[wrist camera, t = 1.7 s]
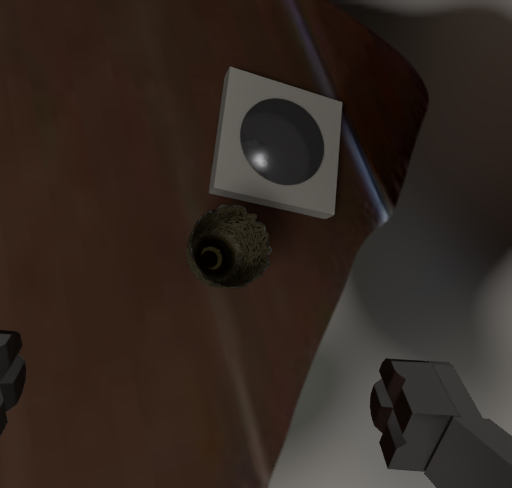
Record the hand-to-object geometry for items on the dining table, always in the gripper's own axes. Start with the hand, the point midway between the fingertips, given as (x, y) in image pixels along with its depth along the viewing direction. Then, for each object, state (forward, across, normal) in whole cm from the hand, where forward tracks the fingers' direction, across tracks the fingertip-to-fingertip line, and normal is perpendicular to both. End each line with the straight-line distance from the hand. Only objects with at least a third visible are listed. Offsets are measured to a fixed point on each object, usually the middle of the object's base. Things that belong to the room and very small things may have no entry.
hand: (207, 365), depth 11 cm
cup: (+33, 0, +18) cm, 37 cm away
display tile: (+43, -6, +9) cm, 44 cm away
